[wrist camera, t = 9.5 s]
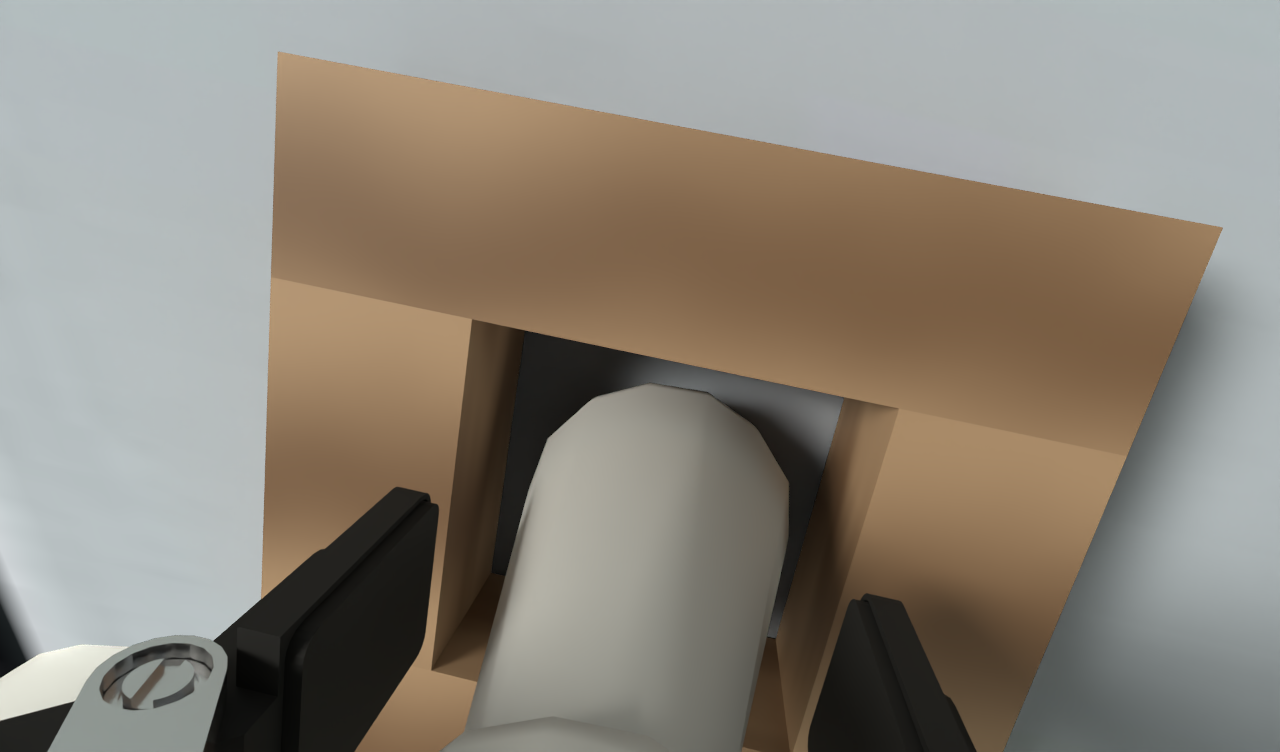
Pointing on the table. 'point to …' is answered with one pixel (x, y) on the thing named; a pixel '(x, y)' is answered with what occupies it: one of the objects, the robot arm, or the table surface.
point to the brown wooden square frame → (706, 360)
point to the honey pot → (50, 679)
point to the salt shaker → (636, 583)
